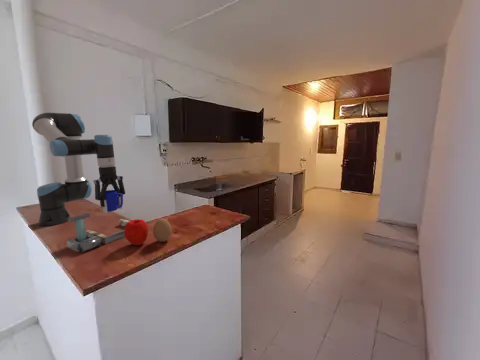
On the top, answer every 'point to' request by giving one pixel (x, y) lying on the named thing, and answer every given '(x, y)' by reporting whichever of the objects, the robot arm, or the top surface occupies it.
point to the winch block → (84, 243)
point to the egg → (162, 230)
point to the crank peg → (80, 226)
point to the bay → (111, 237)
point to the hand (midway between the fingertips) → (112, 210)
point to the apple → (136, 232)
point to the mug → (113, 200)
